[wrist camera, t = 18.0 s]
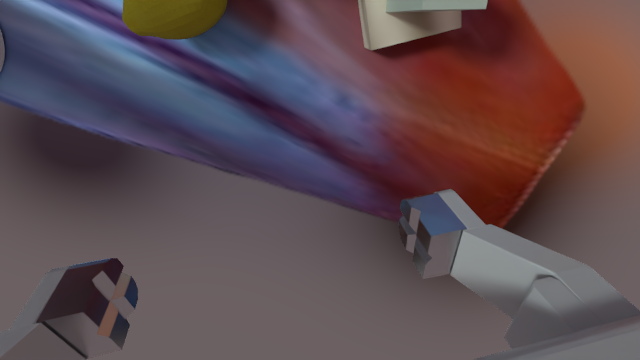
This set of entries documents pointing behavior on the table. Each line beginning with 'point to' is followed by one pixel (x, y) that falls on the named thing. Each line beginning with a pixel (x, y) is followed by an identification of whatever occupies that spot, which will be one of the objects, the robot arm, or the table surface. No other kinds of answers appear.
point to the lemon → (172, 17)
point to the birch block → (401, 24)
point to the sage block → (433, 5)
